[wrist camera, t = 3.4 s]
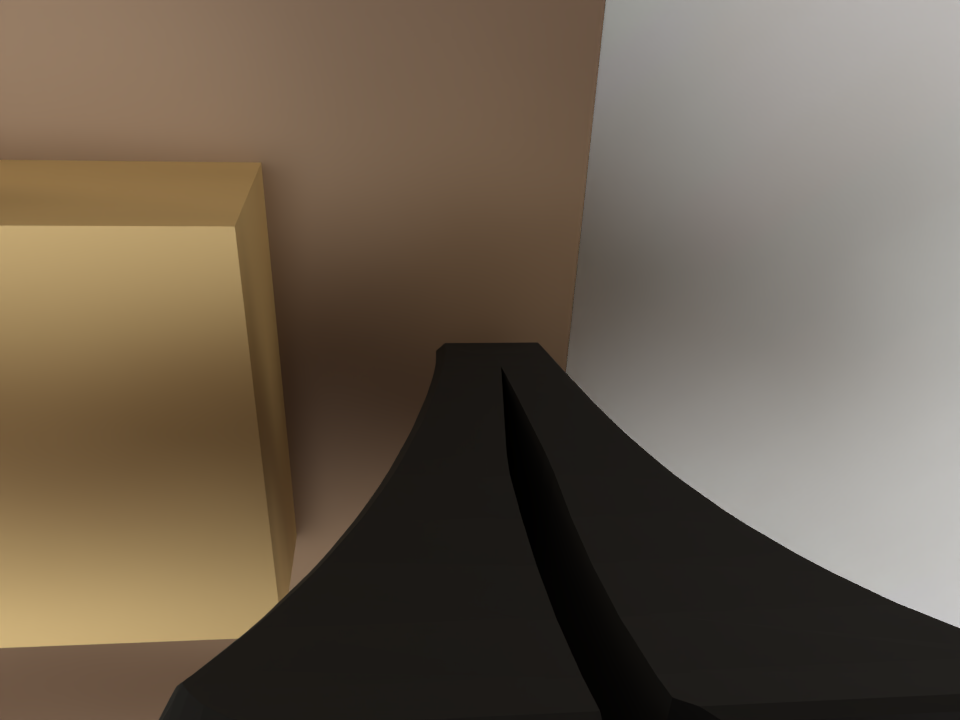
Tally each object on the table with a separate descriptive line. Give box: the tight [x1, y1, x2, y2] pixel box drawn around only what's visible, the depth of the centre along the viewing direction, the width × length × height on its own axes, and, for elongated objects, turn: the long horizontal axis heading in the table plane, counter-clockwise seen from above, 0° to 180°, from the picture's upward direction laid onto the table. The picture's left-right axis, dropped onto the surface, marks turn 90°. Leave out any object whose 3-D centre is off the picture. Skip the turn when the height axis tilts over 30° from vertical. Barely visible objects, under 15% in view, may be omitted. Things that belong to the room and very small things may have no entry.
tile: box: [0, 160, 297, 648], centre depth 11 cm, size 6×5×2 cm
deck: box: [0, 0, 606, 720], centre depth 13 cm, size 20×10×2 cm, turn 178°
